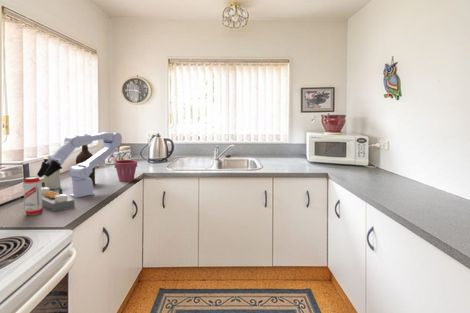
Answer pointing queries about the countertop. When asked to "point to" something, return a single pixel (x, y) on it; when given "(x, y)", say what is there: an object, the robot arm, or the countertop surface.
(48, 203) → the power strip
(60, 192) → the right plug
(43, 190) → the left plug
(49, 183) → the travel mug
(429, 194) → the countertop surface
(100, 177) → the countertop surface
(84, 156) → the olive oil
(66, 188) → the countertop surface
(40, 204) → the beer can
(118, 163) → the plant pot
